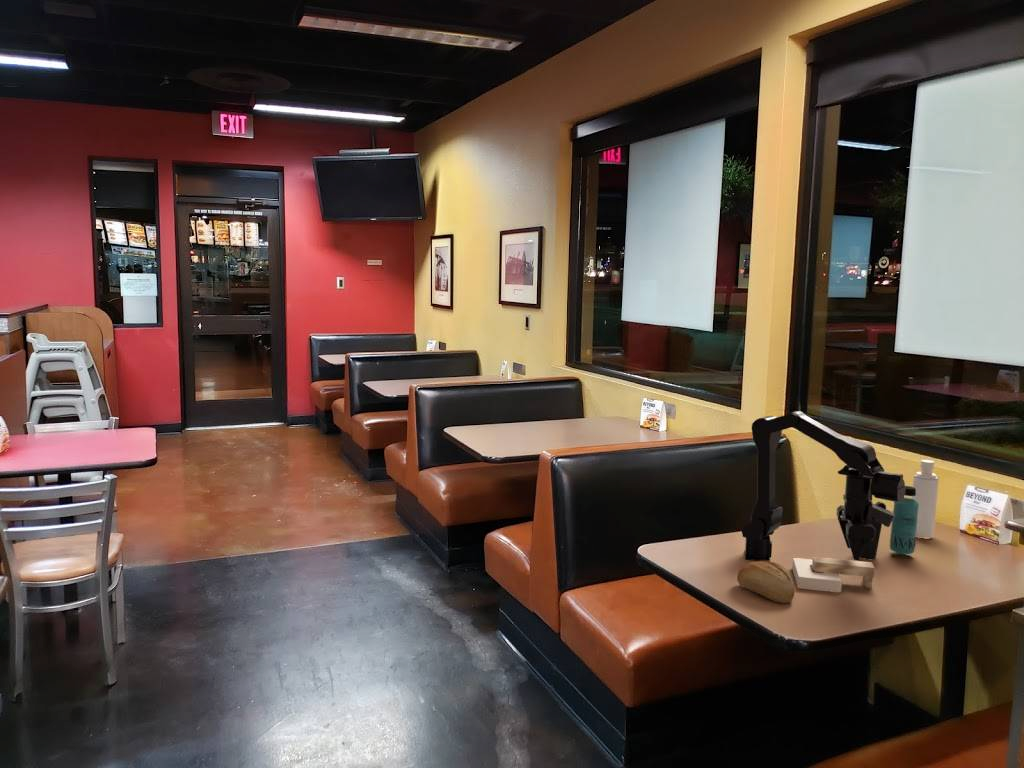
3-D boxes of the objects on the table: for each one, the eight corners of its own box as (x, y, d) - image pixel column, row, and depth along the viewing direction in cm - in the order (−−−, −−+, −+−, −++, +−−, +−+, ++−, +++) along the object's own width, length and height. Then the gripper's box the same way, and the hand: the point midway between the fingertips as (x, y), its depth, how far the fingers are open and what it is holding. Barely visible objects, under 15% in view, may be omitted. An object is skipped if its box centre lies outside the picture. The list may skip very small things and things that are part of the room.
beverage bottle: (883, 551, 218) (889, 483, 215) (906, 551, 218) (911, 483, 216) (897, 559, 211) (903, 489, 209) (919, 559, 212) (926, 489, 209)
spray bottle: (922, 540, 228) (929, 459, 225) (903, 533, 234) (910, 454, 231) (938, 538, 231) (945, 457, 227) (919, 531, 237) (926, 452, 234)
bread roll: (750, 580, 195) (752, 550, 194) (803, 600, 183) (806, 568, 182) (727, 589, 189) (729, 558, 188) (780, 609, 177) (783, 577, 176)
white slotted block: (798, 588, 190) (798, 576, 189) (792, 568, 203) (793, 557, 203) (841, 592, 187) (841, 581, 187) (832, 572, 201) (833, 561, 200)
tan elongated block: (813, 582, 194) (814, 561, 193) (811, 576, 197) (812, 556, 197) (872, 588, 190) (874, 567, 189) (869, 583, 194) (871, 562, 193)
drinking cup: (879, 553, 216) (885, 485, 213) (883, 562, 209) (888, 492, 206) (850, 550, 218) (855, 482, 216) (852, 559, 211) (858, 489, 208)
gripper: (901, 507, 179) (896, 570, 181) (884, 487, 197) (879, 545, 199) (850, 503, 182) (846, 565, 184) (838, 483, 200) (834, 541, 202)
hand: (853, 554), depth 192 cm, fingers open, 9 cm apart
